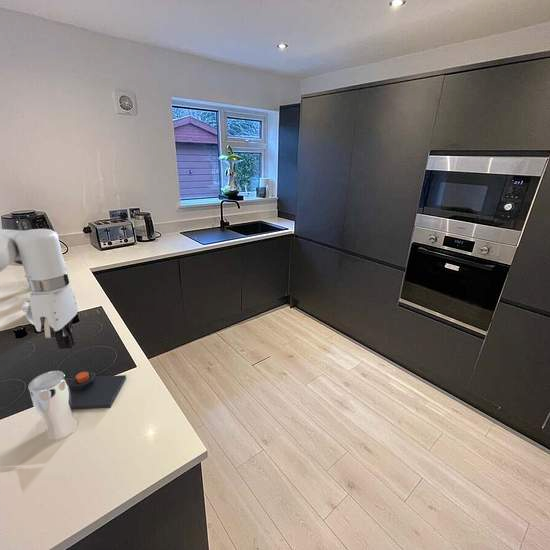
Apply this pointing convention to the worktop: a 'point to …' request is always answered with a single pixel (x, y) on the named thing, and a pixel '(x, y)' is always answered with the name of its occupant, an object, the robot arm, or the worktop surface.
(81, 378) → the tare button
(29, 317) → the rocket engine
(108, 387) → the scale
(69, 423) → the beer glass
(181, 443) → the worktop surface
